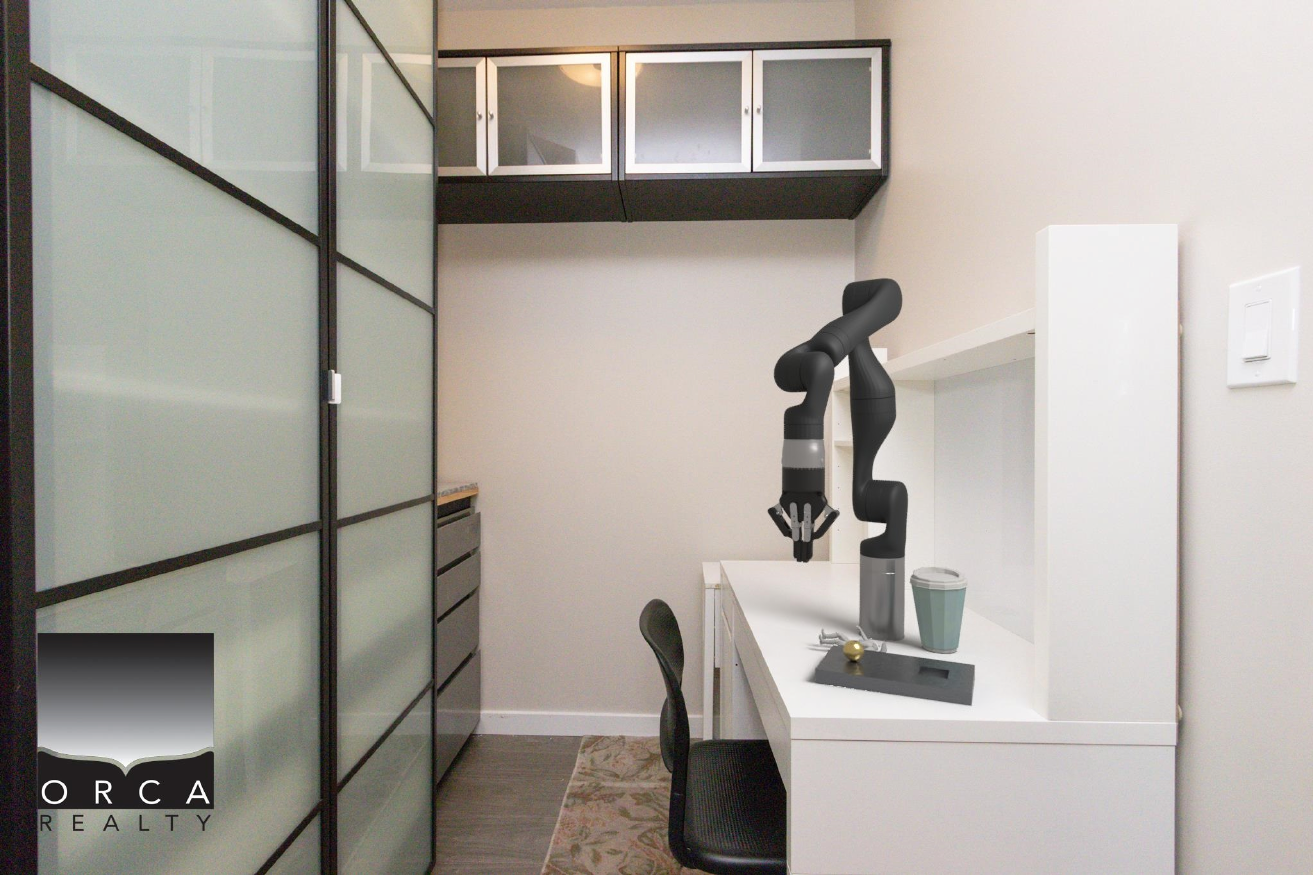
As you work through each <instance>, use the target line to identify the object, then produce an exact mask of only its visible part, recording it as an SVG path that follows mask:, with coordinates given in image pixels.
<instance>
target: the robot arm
mask: <svg viewBox="0 0 1313 875" xmlns="http://www.w3.org/2000/svg"><path fill="white" fill-rule="evenodd" d="M902 307H903V293H902V289H901V287H900V284H899V283H898V282H897V281H896V280H894V279H892V278H887V277H886V278H885V277H881V278H873V279H867V280H866V279H865V280H860V281H859V280H858V281H853V282H849V283H848V284H846V285H845V287H844V290H843V292H842V297H841V312H842V315H841V316H839V317H838V318H835V319H833V320H831V321H829V322H828V323H826V324H825V325H824V326H822V328H820V329H819V330H818V331H817V332H816V333H815V334H814V335H813V336H812V337H810V339H808V340H807V341H804V342H802V343H800V344H798V345H796V346H794V347H793V348H790V349H789V350H787V351H786V352H784V353H783V354H782V355H781V356H780V357H779V358H778V360H777V361H776V363H775V366H774V369H773V378H774V383H775V384H776V385H777V387H778V388H779V389H780V390H781V391H783V392H787V393H793V394H794V393H806V394H805V396H804V399H803V401H802V402H801V403H799V404H797V405H793V406H789V407H787V408H786V409H785V410H784V414H783V442H782V449H781V450H782V451H781V495H780V497H779V500H778V503H775V505H774V506H771V507H769V508H767V514H768V515H769V516H770V518H771V520H772V521H773V522H774V524H775V526H776V527H777V528H778V530H779V531H780V532H781V535H782V536H783V537H785V538H789V539H791V540H792V542H793V544H792V548H793V549H792V550H793V552H792V554H793V559H796V563H805V564H808V563H809V562H810V560H812V559H813V556H814V554H813V553H814V540H819V539H821V538H822V537H823V536H824V535H825V534H826V533H827V532H828V530H829V529H831V526H832V525H833V524H834V522H836V520H837V519H838V518H839V516H840V514H841V513H840V510H839V509H834V508H833V507H832V506H830V505H829V502H828V498H827V497H826V450H825V438H824V437H825V435H824V432H825V430H824V429H825V424H824V423H825V420H824V419H825V414H826V409H827V407H828V402H829V397H830V395H831V391H832V387H833V384H834V381H835V374H836V373H835V368H836V367H837V366H839V365H840V364H841V363H842V361H844V359H845V358H846V357H847V360H848V361H847V362H848V373H849V374H848V377H849V406H850V407H849V408H850V422H851V435H852V436H851V437H852V455H853V456H852V484H851V485H852V486H851V490H852V491H851V501H852V502H851V503H852V510H853V511H852V512H853V514H854V516H855V518H856V519H857V520H858V521H859V522H863V523H864V522H865V523H875V524H885V530H884V532H882V533H881V534H879V535H875V536H872V537H867V538H864V539H863V540H861V541H860V544H859V609H858V610H859V614H858V615H859V616H858V617H859V618H858V619H859V624H858V626H859V627H860V628H861V629H862V631H863V632H864V634H865V636H866V637H867V638H868V639H870V638H872V640H876V641H884V640H885V641H900V640H903V639H904V638H905V615H906V614H905V610H906V608H905V600H906V599H905V596H906V595H905V594H906V593H905V590H906V589H905V588H906V586H905V584H906V571H905V570H906V568H905V567H906V566H905V564H906V563H905V561H906V543H907V526H908V524H907V523H908V511H909V493H908V488H907V486H906V484H905V483H904V482H902V481H901V480H900V481H899V480H886V479H885V480H884V479H873V470H874V469H873V468H874V462H875V459H876V457H877V455H878V452H879V450H880V448H881V447H882V445H883V444H884V442H885V440H886V439H887V437H888V436H889V434H890V432H891V431H892V428H893V427H894V425H895V422H896V419H897V404H896V400H897V399H896V398H897V397H896V389H895V384H894V382H893V380H892V378H891V377H890V375H889V373H888V372H887V370H886V369H885V367H884V366H883V365H882V363H881V362H880V361H879V359H878V358H877V356H876V354H875V353H874V351H873V349H872V348H873V347H872V346H871V342H870V338H869V337H871V336H872V335H874V334H875V333H877V332H879V331H880V330H881V329H883V328H884V327H886V326H888V325H889V324H891V323H892V322H894V321H895V320H896V319H897V318H898V317H899V315H900V313H901V311H902ZM823 512H824V513H823ZM784 513H785V514H786V515H787V517H788V518H789V519H790V525H789V523H788V522H787V520H786V519H785V517H784V516H783V514H784ZM821 514H823V517H824V520H823V521H822V523H821V524H820V525H819V527H818V528H817V530H815V527H816V520H818V518H819V517H820V516H821ZM858 632H859V634H860V633H861V632H860V631H859V630H858Z"/></svg>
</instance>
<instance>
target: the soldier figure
mask: <svg viewBox="0 0 1313 875" xmlns="http://www.w3.org/2000/svg"><path fill="white" fill-rule="evenodd" d="M856 629H857V630H858V632H859V631H860V632H861V633H859V635H860V636H861V638H860V639H854V640H855V641H858V642H860V643H861V644H862V646H863V648H864V650H871V651H878V652H885V653H888V648H887V644H886V642H885V641H884V640H883V643H882V644H878V645H877V644H876V643H875V642H874V641H873V640H871V639H869V638H867V637H866V636H865V634H864V632H863V631H862V629H861V628H860V627H859V624H858V625H856ZM818 639H819V645H821V646H822V645H832V646H833V645H835V646H842V647H844V645H845V644H846V643H847V642H848V641H850V640H851V639H850V638H849V637H848V636H846V635H845V634H844V633H842V632H837V631H836V632H835V633H828V634H826V632H825V629H824V628H822V629H821V631H820V633H819V635H818ZM879 648H880V650H879Z"/></svg>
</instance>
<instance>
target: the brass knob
mask: <svg viewBox="0 0 1313 875" xmlns="http://www.w3.org/2000/svg"><path fill="white" fill-rule="evenodd" d="M849 640H850V641H848V642H847V643H846V644H845V645H844V648H843V652H844V655H845V657H846V658H847V659H849V660H851V661H858V660H860V659H861V658H862V657H863V655H864V648H863V646H862V644H861V643H860V642H858V641H855V640H856V639H849Z"/></svg>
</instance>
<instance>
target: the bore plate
mask: <svg viewBox="0 0 1313 875" xmlns="http://www.w3.org/2000/svg"><path fill="white" fill-rule="evenodd" d="M843 648H844V647H842V646H838V645H835V644H834V645H832V646H831V647H830V649H828V652H827V653H826V654H825V655H824V657H823V658H822V659H821V661H820V662H819V663H818V665H817V666H816V667H815V670H814V673H815V674H814V682H815V684H816V685H817V684H818V685H825V686H830V685H833V686H832V687H837V686H842V687H841V688H844V687H846V688H845V689H851V688H854V689H853V690H860V691H865V690H867V691H866V692H873V693H879V692H880V693H881V694H886V695H887V694H888V695H894V696H902V697H909V698H914V699H919V700H920V699H923V700H927V701H928V700H929V701H934V702H941V703H948V704H949V703H950V704H956V705H964V706H971V707H972V706H973V697H974V689H975V680H976V679H975V678H976V664H971V663H964V662H957V661H949V660H943V659H935V658H926V657H922V656H921V657H920V656H913V655H907V654H905V655H904V654H898V653H892V652H891V653H890V652H886V653H885V652H879V650H877V651H871V650H864V655H863V657H862V658H861V659H860V660H858V661H851V660H849V659H847V658H846V657H845V655H844V652H843Z"/></svg>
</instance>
